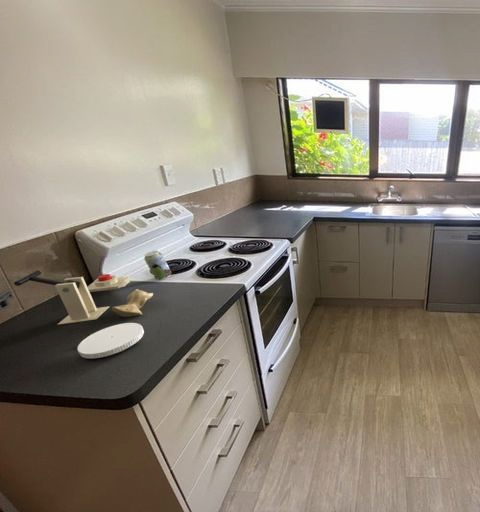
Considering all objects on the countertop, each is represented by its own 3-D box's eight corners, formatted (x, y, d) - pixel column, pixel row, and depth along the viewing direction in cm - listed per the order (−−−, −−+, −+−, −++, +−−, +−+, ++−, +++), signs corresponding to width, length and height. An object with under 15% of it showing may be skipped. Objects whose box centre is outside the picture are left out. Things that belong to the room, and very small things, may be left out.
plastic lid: (93, 368, 74) (89, 360, 73) (72, 350, 81) (68, 343, 80) (154, 338, 86) (151, 331, 85) (132, 324, 92) (129, 318, 91)
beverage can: (174, 277, 124) (166, 251, 119) (153, 283, 118) (144, 256, 114) (170, 273, 127) (162, 248, 123) (150, 278, 122) (141, 252, 118)
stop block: (84, 295, 109) (80, 286, 108) (98, 284, 117) (94, 276, 115) (119, 291, 112) (116, 282, 111) (130, 281, 120) (127, 272, 119)
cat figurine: (107, 307, 90) (130, 281, 100) (111, 321, 94) (133, 295, 104) (137, 311, 92) (157, 285, 102) (141, 325, 96) (159, 299, 106)
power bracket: (58, 327, 90) (39, 289, 85) (75, 313, 98) (57, 277, 92) (97, 322, 93) (81, 284, 88) (110, 309, 100) (96, 273, 95)
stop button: (97, 282, 111) (95, 278, 110) (102, 278, 114) (100, 274, 114) (108, 281, 112) (107, 277, 111) (113, 277, 115) (111, 273, 115)
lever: (13, 286, 83) (14, 279, 83) (34, 275, 90) (35, 268, 90) (68, 296, 88) (69, 289, 88) (84, 284, 95) (85, 278, 95)
